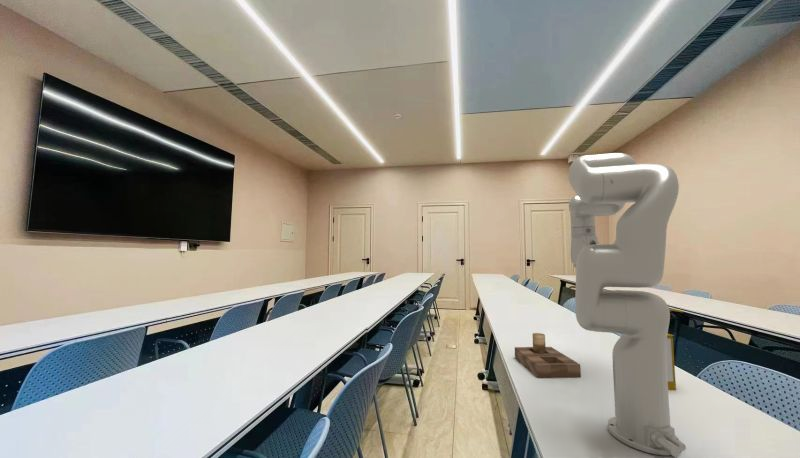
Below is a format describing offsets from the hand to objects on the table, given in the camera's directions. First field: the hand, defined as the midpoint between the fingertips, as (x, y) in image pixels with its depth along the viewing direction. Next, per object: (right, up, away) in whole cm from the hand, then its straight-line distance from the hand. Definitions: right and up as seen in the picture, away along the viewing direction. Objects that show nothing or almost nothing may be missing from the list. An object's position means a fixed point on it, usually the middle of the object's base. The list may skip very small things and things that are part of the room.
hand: (585, 284), depth 107 cm
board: (-15, -29, -1) cm, 32 cm away
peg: (-15, -29, +3) cm, 33 cm away
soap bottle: (+15, -28, -15) cm, 35 cm away
